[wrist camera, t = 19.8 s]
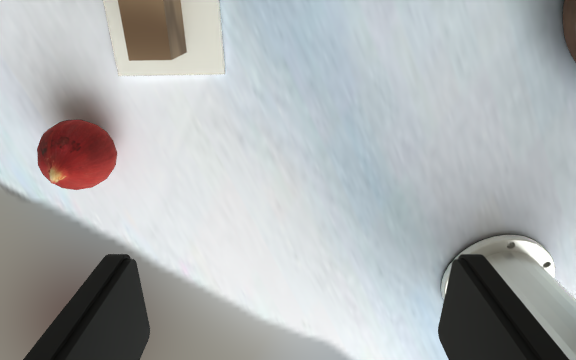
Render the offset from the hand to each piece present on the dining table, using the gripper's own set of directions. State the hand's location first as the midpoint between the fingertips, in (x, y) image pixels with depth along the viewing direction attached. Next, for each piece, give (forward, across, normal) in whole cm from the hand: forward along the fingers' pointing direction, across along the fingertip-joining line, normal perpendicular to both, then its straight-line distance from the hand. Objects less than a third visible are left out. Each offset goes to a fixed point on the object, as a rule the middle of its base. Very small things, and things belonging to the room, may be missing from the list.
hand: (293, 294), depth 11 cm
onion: (+24, +18, +3) cm, 31 cm away
